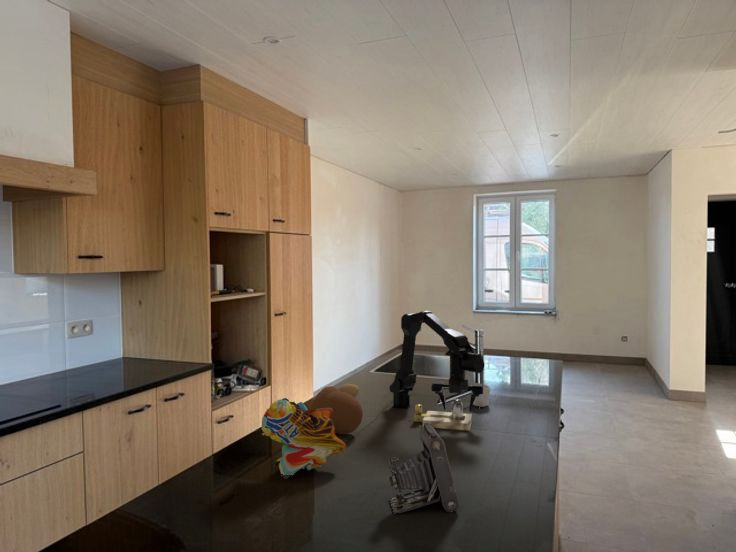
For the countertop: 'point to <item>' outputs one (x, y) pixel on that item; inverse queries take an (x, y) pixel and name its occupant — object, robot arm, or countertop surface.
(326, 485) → the countertop surface
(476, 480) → the countertop surface
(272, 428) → the multicolored irregular chunky piece
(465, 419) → the dock
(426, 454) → the camera
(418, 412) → the pin
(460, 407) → the cylinder
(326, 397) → the toy
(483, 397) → the cup
